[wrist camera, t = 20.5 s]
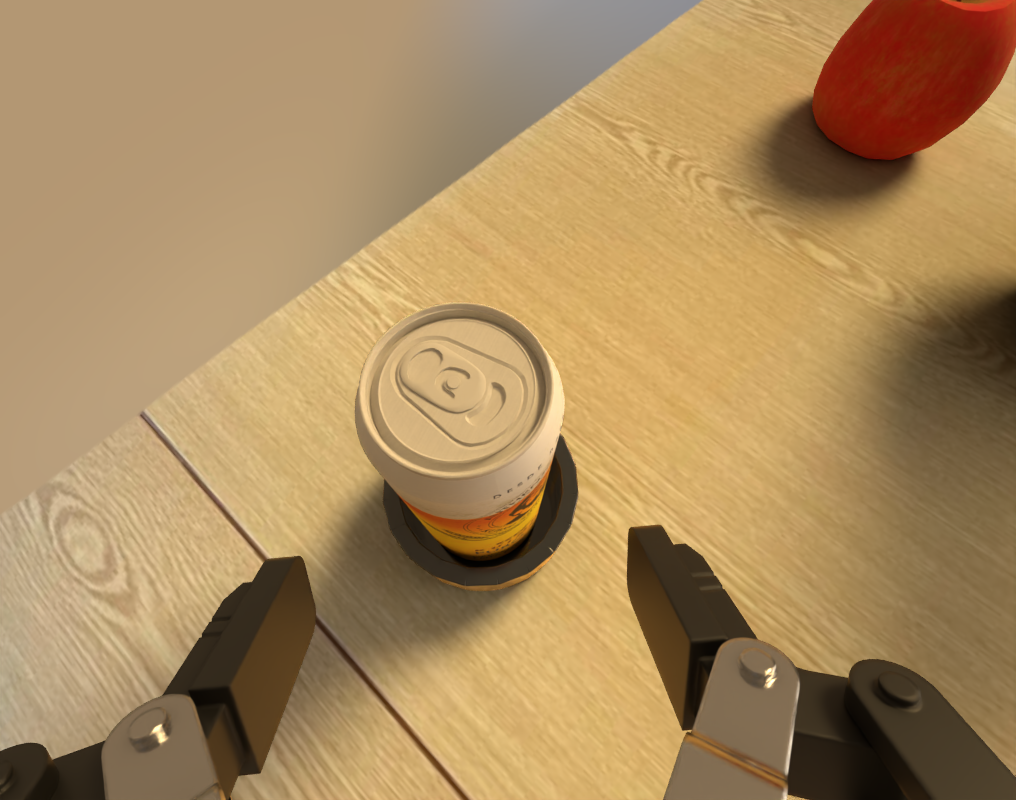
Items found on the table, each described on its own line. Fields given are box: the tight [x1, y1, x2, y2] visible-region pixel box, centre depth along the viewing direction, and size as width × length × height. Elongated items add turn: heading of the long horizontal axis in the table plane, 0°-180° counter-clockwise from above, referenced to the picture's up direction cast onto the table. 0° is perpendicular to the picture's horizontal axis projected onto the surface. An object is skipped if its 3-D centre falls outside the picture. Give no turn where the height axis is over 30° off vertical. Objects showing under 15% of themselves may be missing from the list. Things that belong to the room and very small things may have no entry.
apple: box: [812, 0, 1016, 160], centre depth 35 cm, size 11×11×11 cm
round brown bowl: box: [383, 434, 578, 591], centre depth 26 cm, size 9×9×4 cm
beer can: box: [355, 302, 565, 561], centre depth 20 cm, size 6×6×15 cm
